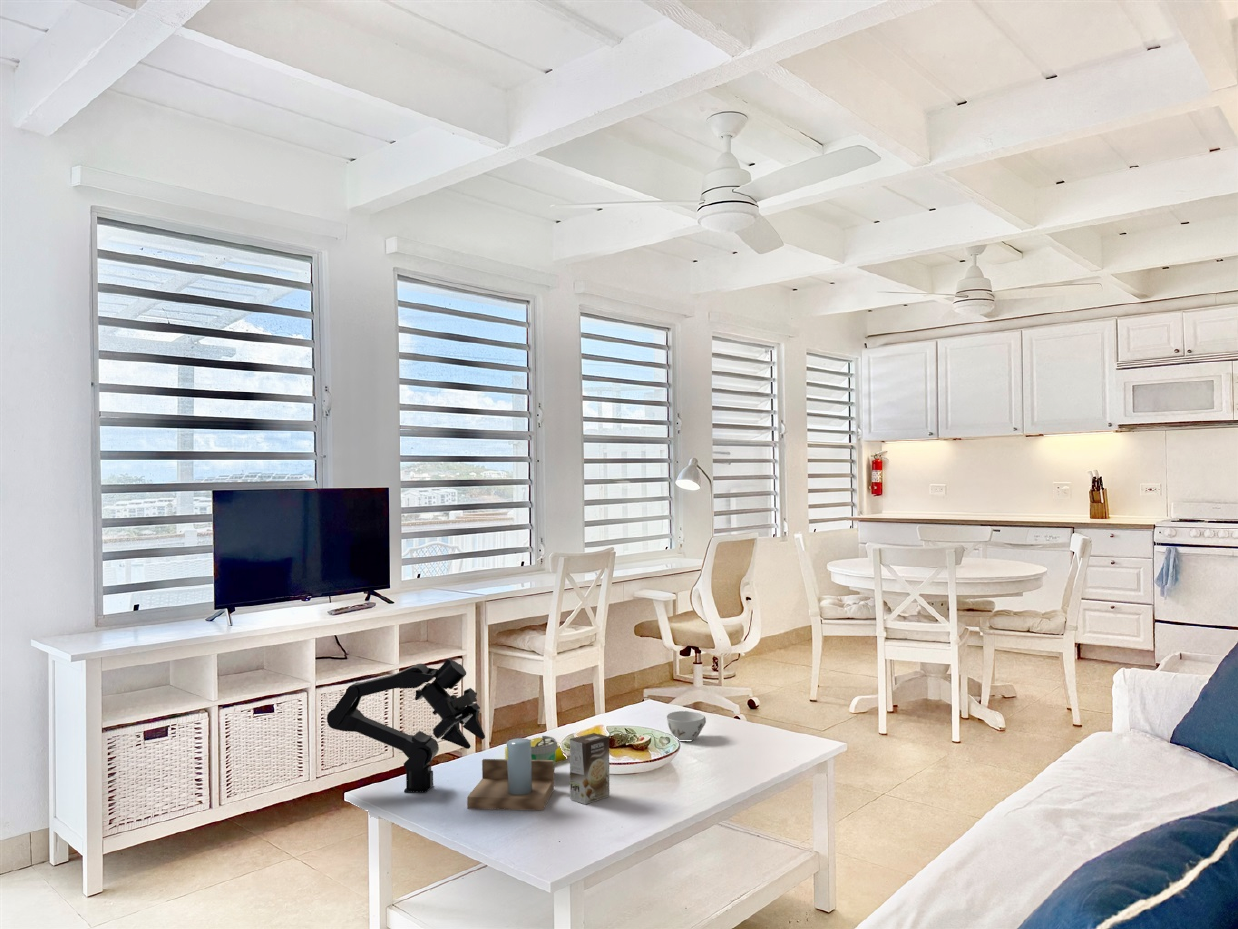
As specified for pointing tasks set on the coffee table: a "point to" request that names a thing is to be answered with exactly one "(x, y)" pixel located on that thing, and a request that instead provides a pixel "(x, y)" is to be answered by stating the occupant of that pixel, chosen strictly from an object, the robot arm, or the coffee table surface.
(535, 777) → the shelf
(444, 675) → the robot arm
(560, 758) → the yellow bowl
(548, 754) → the food container
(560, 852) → the coffee table surface
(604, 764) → the coffee box
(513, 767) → the frosted glass cup
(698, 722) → the teacup
